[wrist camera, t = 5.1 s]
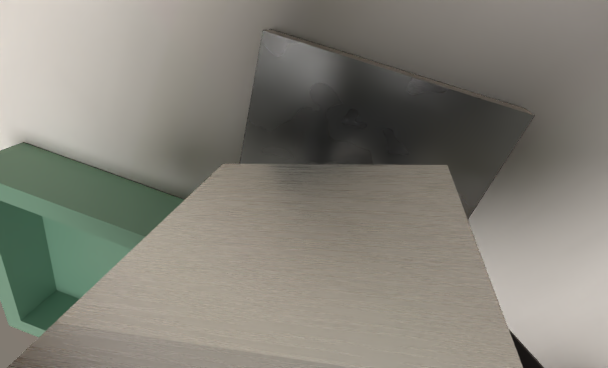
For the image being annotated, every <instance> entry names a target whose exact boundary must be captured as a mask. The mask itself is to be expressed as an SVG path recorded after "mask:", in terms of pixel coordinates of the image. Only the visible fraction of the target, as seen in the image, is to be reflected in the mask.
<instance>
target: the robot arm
mask: <svg viewBox="0 0 608 368" xmlns="http://www.w3.org/2000/svg"><path fill="white" fill-rule="evenodd" d="M509 331H510V330H509ZM510 334H511V337H512V340H513V342H514V345H515V348H516V350H517V353H518V356H519V358H520V361H521V364H522V366H523V368H544V367H543V366H542V365H541V364H540V363H539V362H538V361H537V359H536V358H535V357H534V356H533V355H532V354H531V353H530V352H529V351H528V350H527V349H526V347H525V346H524V345H523V344H522V343H521V342H520V341H519V340H518V339H517V338H516V336H515V335H514V334H513V333H512V332H511V331H510Z"/></svg>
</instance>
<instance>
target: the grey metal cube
mask: <svg viewBox="0 0 608 368" xmlns="http://www.w3.org/2000/svg"><path fill="white" fill-rule="evenodd" d="M7 368H523V366H522V364H521V361H520V358H519V356H518V353H517V350H516V348H515V345H514V342H513V340H512V337H511V334H510V331H509V329H508V326H507V323H506V321H505V318H504V315H503V313H502V310H501V307H500V305H499V302H498V299H497V297H496V294H495V291H494V289H493V286H492V283H491V281H490V278H489V275H488V273H487V270H486V267H485V265H484V262H483V259H482V257H481V254H480V251H479V249H478V246H477V243H476V241H475V238H474V235H473V233H472V230H471V227H470V224H469V222H468V219H467V216H466V214H465V211H464V208H463V206H462V203H461V200H460V198H459V195H458V192H457V190H456V187H455V184H454V182H453V179H452V176H451V174H450V171H449V168H448V166H447V165H360V164H222V165H221V166H220V167H219V168H218V169H217V170H216V171H215V172H214V173H213V174H212V175H211V176H209V177H208V178H207V179H206V180H205V181H204V182H203V183H202V184H201V185H200V186H199V187H198V188H197V189H196V190H195V191H194V192H193V193H191V194H190V195H189V196H188V197H187V198H186V199H185V200H184V201H183V202H182V203H181V204H180V205H179V206H178V207H177V208H176V209H174V210H173V211H172V212H171V213H170V214H169V215H168V216H167V217H166V218H165V219H164V220H163V221H162V222H161V223H160V224H159V225H158V226H156V227H155V228H154V229H153V230H152V231H151V232H150V233H149V234H148V235H147V236H146V237H145V238H144V239H143V240H142V241H141V242H140V243H138V244H137V245H136V246H135V247H134V248H133V249H132V250H131V251H130V252H129V253H128V254H127V255H126V256H125V257H124V258H123V259H122V260H120V261H119V262H118V263H117V264H116V265H115V266H114V267H113V268H112V269H111V270H110V271H109V272H108V273H107V274H106V275H105V276H103V277H102V278H101V279H100V280H99V281H98V282H97V283H96V284H95V285H94V286H93V287H92V288H91V289H90V290H89V291H88V292H87V293H85V294H84V295H83V296H82V297H81V298H80V299H79V300H78V301H77V302H76V303H75V304H74V305H73V306H72V307H71V308H70V309H69V310H67V311H66V312H65V313H64V314H63V315H62V316H61V317H60V318H59V319H58V320H57V321H56V322H55V323H54V324H53V325H52V326H50V327H49V328H48V329H47V330H46V331H45V332H44V333H43V334H42V335H41V336H40V337H39V338H38V339H37V340H36V341H35V342H34V343H32V344H31V345H30V347H28V348H27V349H26V350H25V351H24V352H23V353H22V354H21V355H20V356H19V357H18V358H17V359H16V360H14V361H13V362H12V363H11V364H10V365H9V366H8V367H7Z"/></svg>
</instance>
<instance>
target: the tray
mask: <svg viewBox="0 0 608 368" xmlns="http://www.w3.org/2000/svg"><path fill="white" fill-rule="evenodd" d="M183 201H184V199H181V198H178V197H175V196H172V195H170V194H167V193H164V192H161V191H158V190H156V189H153V188H150V187H147V186H144V185H142V184H139V183H136V182H133V181H130V180H128V179H125V178H122V177H119V176H116V175H114V174H111V173H108V172H105V171H102V170H99V169H97V168H94V167H91V166H88V165H85V164H83V163H80V162H77V161H74V160H71V159H69V158H66V157H63V156H60V155H57V154H55V153H52V152H49V151H46V150H43V149H41V148H38V147H35V146H32V145H29V144H26V143H24V142H23V143H20V144H17V145H15V146H12V147H9V148H6V149H4V150H1V151H0V300H1V303H2V306H3V309H4V312H5V315H6V318H7V321H8V324H9V325H10V326H12V327H14V328H17V329H19V330H22V331H24V332H27V333H30V334H32V335H34V336H37V337H40V336H41V335H42V334H43V333H44V332H45V331H46V330H47V329H48V328H49V327H50V326H52V325H53V324H54V323H55V322H56V321H57V320H58V319H59V318H60V317H61V316H62V315H63V314H64V313H65V312H66V311H67V310H69V309H70V308H71V307H72V306H73V305H74V304H75V303H76V302H77V301H78V300H79V299H80V298H81V297H82V296H83V295H84V294H85V293H87V292H88V291H89V290H90V289H91V288H92V287H93V286H94V285H95V284H96V283H97V282H98V281H99V280H100V279H101V278H102V277H103V276H105V275H106V274H107V273H108V272H109V271H110V270H111V269H112V268H113V267H114V266H115V265H116V264H117V263H118V262H119V261H120V260H122V259H123V258H124V257H125V256H126V255H127V254H128V253H129V252H130V251H131V250H132V249H133V248H134V247H135V246H136V245H137V244H138V243H140V242H141V241H142V240H143V239H144V238H145V237H146V236H147V235H148V234H149V233H150V232H151V231H152V230H153V229H154V228H155V227H156V226H158V225H159V224H160V223H161V222H162V221H163V220H164V219H165V218H166V217H167V216H168V215H169V214H170V213H171V212H172V211H173V210H174V209H176V208H177V207H178V206H179V205H180V204H181V203H182V202H183Z"/></svg>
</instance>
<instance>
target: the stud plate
mask: <svg viewBox="0 0 608 368" xmlns="http://www.w3.org/2000/svg"><path fill="white" fill-rule="evenodd" d="M534 116H535V115H534V114H532V113H531V112H529V111H528V110H527V109H525V108H522V107H519V106H516V105H512V104H509V103H506V102H503V101H500V100H496V99H493V98H490V97H487V96H483V95H480V94H477V93H474V92H471V91H467V90H464V89H461V88H458V87H455V86H451V85H448V84H445V83H442V82H438V81H435V80H432V79H429V78H426V77H422V76H419V75H416V74H413V73H410V72H406V71H403V70H400V69H397V68H393V67H390V66H387V65H384V64H381V63H377V62H374V61H371V60H368V59H365V58H361V57H358V56H355V55H352V54H348V53H345V52H342V51H339V50H336V49H332V48H329V47H326V46H323V45H320V44H316V43H313V42H310V41H307V40H303V39H300V38H297V37H294V36H291V35H287V34H284V33H281V32H278V31H274V30H271V29H268V30H263V32H262V37H261V43H260V49H259V55H258V60H257V66H256V72H255V78H254V84H253V89H252V95H251V101H250V107H249V113H248V118H247V124H246V130H245V136H244V141H243V147H242V153H241V159H240V164H360V165H447V166H448V168H449V171H450V174H451V176H452V179H453V182H454V184H455V187H456V190H457V192H458V195H459V198H460V200H461V203H462V206H463V208H464V211H465V214H466V216H467V219H468V218H469V217H470V215H471V214H472V212H473V211H474V209H475V208H476V206H477V204H478V203H479V201H480V200H481V198H482V197H483V195H484V194H485V192H486V190H487V189H488V187H489V186H490V184H491V183H492V181H493V180H494V178H495V176H496V175H497V173H498V172H499V170H500V169H501V167H502V166H503V164H504V162H505V161H506V159H507V158H508V156H509V155H510V153H511V152H512V150H513V148H514V147H515V145H516V144H517V142H518V141H519V139H520V138H521V136H522V134H523V133H524V131H525V130H526V128H527V127H528V125H529V124H530V122H531V121H532V119H533V117H534Z"/></svg>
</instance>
